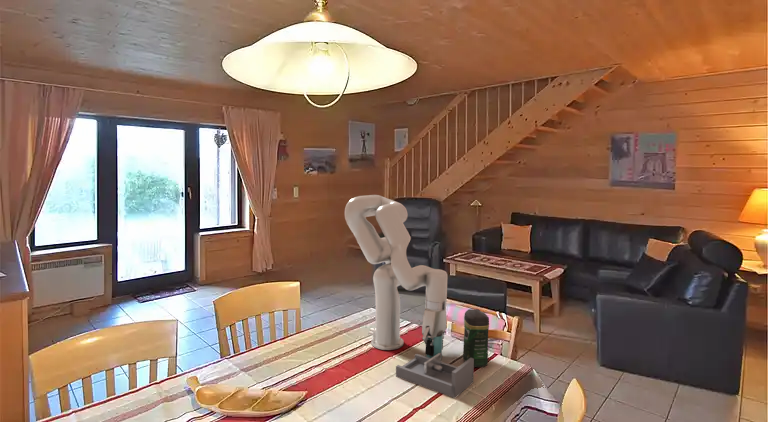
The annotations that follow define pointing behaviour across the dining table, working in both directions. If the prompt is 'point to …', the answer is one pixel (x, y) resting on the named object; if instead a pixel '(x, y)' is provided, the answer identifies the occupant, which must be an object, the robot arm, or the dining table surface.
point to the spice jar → (437, 344)
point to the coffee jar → (476, 337)
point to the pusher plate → (433, 365)
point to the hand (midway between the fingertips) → (434, 351)
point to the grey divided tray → (438, 376)
